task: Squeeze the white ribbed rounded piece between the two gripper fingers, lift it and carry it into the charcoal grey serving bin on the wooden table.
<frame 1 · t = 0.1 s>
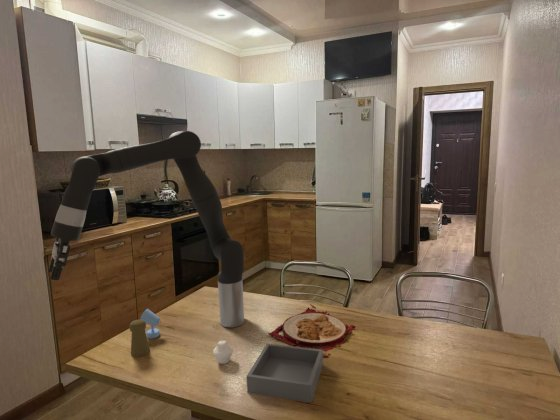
hand: (53, 275, 111), 31 cm above the table, tool tilted 20°, fingers open, 8 cm apart
olive pepper mill: (140, 352, 128), on the table
serving bin: (287, 378, 111), on the table
spotlight: (152, 335, 139), on the table
white ribbed rounded piece: (223, 361, 121), on the table
plate with food: (316, 333, 139), on the table
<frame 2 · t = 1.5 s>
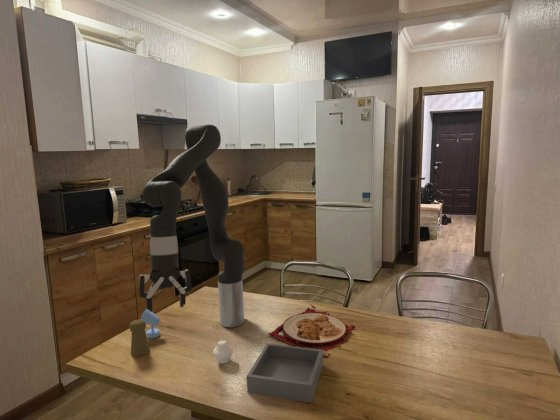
hand: (166, 308, 108), 22 cm above the table, tool pointing down, fingers open, 8 cm apart
nothing on the table moved.
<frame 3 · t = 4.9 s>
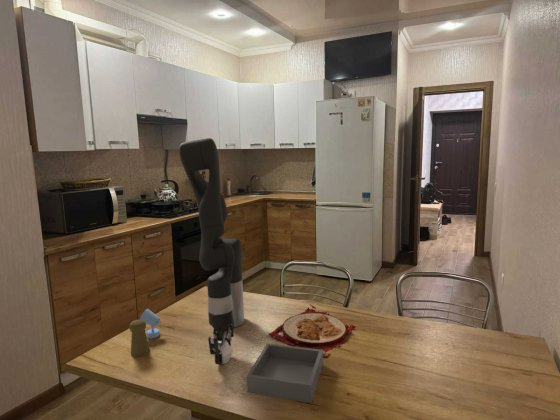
hand: (223, 358, 121), 1 cm above the table, tool pointing down, fingers closed on white ribbed rounded piece, 6 cm apart
white ribbed rounded piece: (223, 361, 121), on the table, touching gripper
everything else where it was.
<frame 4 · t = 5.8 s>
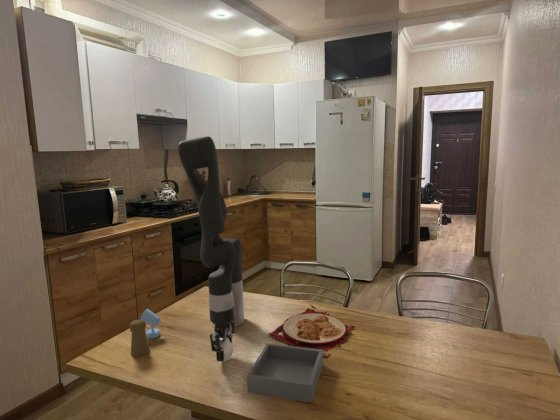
hand: (224, 354, 121), 2 cm above the table, tool pointing down, fingers closed on white ribbed rounded piece, 6 cm apart
white ribbed rounded piece: (225, 358, 121), point 1 cm above the table, touching gripper
everything else where it was.
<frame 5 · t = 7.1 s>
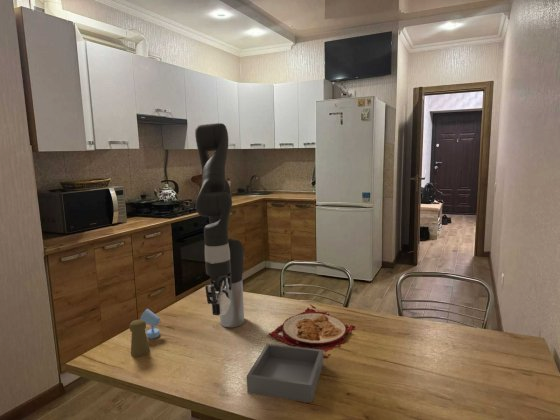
hand: (221, 309, 118), 17 cm above the table, tool pointing down, fingers closed on white ribbed rounded piece, 6 cm apart
white ribbed rounded piece: (221, 313, 118), point 16 cm above the table, touching gripper
everything else where it was.
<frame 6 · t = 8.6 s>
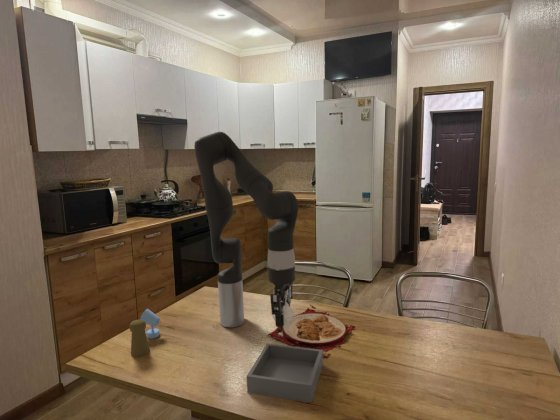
hand: (283, 321, 108), 18 cm above the table, tool pointing down, fingers closed on white ribbed rounded piece, 6 cm apart
white ribbed rounded piece: (283, 325, 108), point 16 cm above the table, touching gripper
everything else where it was.
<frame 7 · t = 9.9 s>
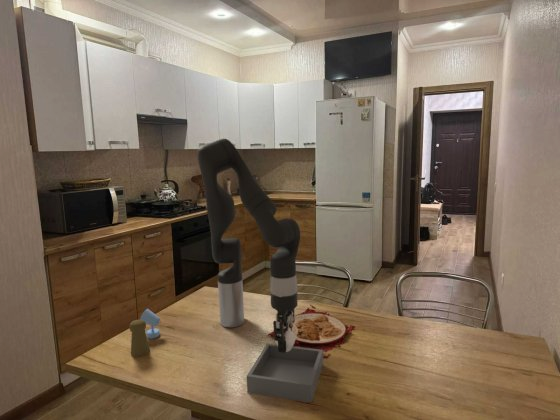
hand: (285, 345, 109), 10 cm above the table, tool pointing down, fingers closed on white ribbed rounded piece, 6 cm apart
white ribbed rounded piece: (285, 349, 109), point 9 cm above the table, touching gripper
everything else where it was.
when the fingers open (3 cm above the table, at t = 11.9 s): white ribbed rounded piece drops 1 cm, resting on serving bin.
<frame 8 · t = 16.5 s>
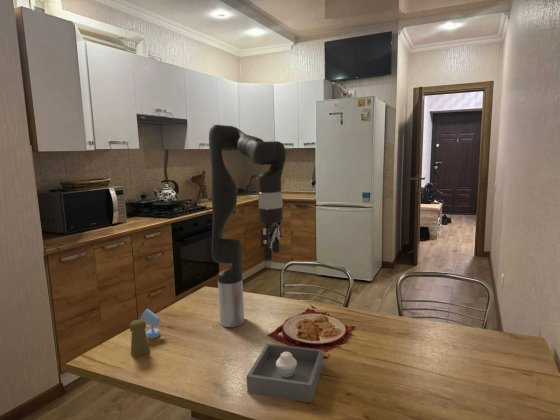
hand: (272, 255, 122), 32 cm above the table, tool pointing down, fingers open, 8 cm apart
white ribbed rounded piece: (286, 375, 111), point 1 cm above the table, touching serving bin
everything else where it was.
at the end: white ribbed rounded piece inside the target area on the serving bin (0.3 cm from its centre), point 0.8 cm above the serving bin's base; the gripper is holding nothing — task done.
